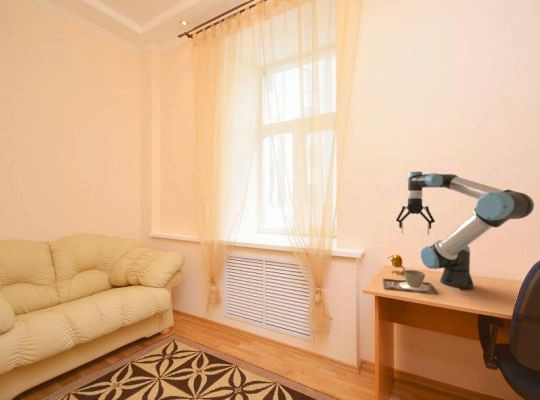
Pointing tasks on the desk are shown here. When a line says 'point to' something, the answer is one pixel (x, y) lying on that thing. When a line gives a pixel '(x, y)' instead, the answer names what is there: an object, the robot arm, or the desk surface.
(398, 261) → the figurine
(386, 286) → the tray
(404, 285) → the saucer
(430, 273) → the desk surface
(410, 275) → the flower pot
